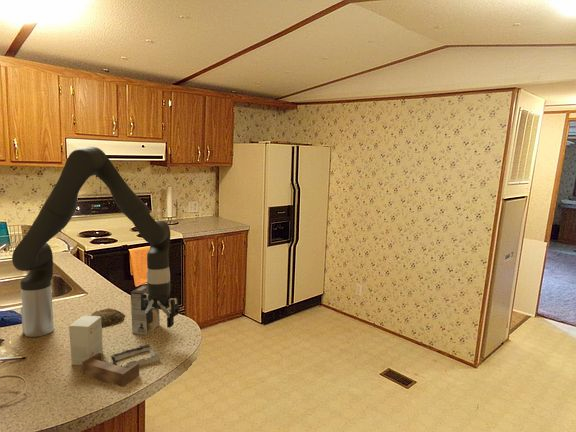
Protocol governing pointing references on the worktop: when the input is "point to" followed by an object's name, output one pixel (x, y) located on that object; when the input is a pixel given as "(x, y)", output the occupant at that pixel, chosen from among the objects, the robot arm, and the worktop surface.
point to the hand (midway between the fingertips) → (160, 324)
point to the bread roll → (109, 316)
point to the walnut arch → (109, 371)
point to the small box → (85, 338)
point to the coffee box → (142, 313)
